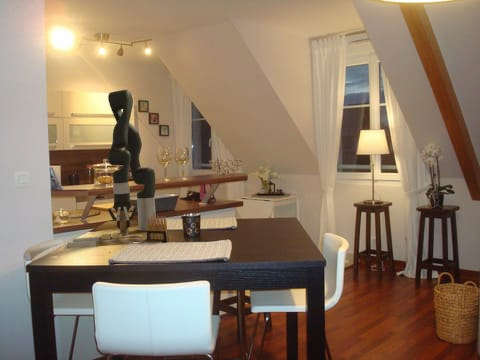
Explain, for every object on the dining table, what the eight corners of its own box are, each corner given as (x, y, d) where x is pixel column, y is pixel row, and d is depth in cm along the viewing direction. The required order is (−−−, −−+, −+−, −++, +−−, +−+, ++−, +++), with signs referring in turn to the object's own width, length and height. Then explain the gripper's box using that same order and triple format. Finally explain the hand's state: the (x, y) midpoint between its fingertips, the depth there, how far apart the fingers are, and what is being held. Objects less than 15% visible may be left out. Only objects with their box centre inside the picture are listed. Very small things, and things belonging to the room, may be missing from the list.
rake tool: (127, 238, 231) (126, 210, 231) (127, 240, 227) (125, 211, 226) (121, 239, 231) (119, 210, 230) (120, 241, 226) (118, 211, 225)
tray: (99, 243, 222) (98, 236, 222) (96, 247, 212) (95, 241, 212) (72, 245, 221) (72, 238, 220) (67, 249, 210) (67, 243, 210)
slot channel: (143, 240, 226) (142, 234, 226) (141, 244, 214) (141, 238, 214) (99, 243, 223) (99, 237, 223) (95, 248, 211) (95, 241, 211)
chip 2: (122, 241, 221) (122, 232, 221) (121, 242, 217) (121, 234, 217) (113, 241, 220) (113, 233, 220) (112, 243, 216) (112, 234, 216)
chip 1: (111, 242, 220) (111, 233, 220) (110, 243, 216) (110, 234, 216) (102, 242, 219) (102, 234, 219) (101, 244, 215) (100, 235, 215)
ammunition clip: (168, 241, 220) (167, 215, 219) (166, 242, 218) (165, 216, 218) (149, 240, 224) (147, 215, 223) (146, 241, 222) (145, 215, 222)
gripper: (137, 190, 232) (139, 226, 233) (107, 192, 230) (109, 228, 231) (136, 192, 225) (138, 228, 226) (105, 193, 222) (107, 230, 224)
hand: (123, 228), depth 228 cm, fingers open, 3 cm apart
